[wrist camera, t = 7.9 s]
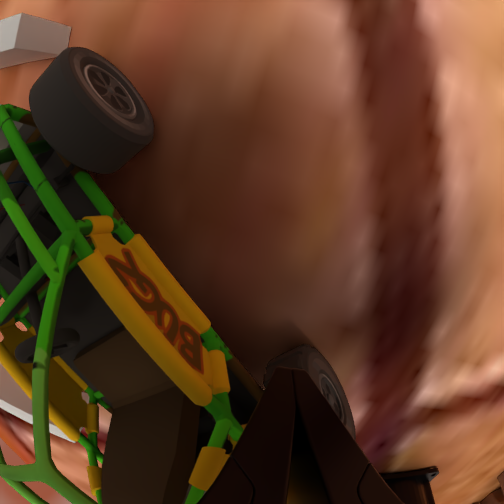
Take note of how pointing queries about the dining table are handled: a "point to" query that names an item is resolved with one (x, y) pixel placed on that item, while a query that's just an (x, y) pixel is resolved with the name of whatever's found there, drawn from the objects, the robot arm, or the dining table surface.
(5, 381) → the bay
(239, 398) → the motor vehicle
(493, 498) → the wooden toy
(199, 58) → the dining table surface
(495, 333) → the dining table surface
